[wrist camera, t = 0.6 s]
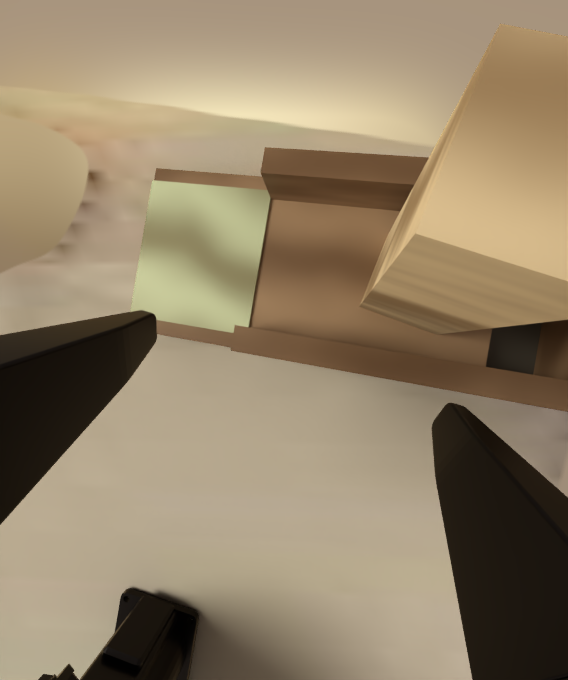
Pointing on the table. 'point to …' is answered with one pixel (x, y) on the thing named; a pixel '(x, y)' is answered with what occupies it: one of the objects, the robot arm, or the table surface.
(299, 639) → the table surface
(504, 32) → the birch block
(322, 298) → the walnut channel
